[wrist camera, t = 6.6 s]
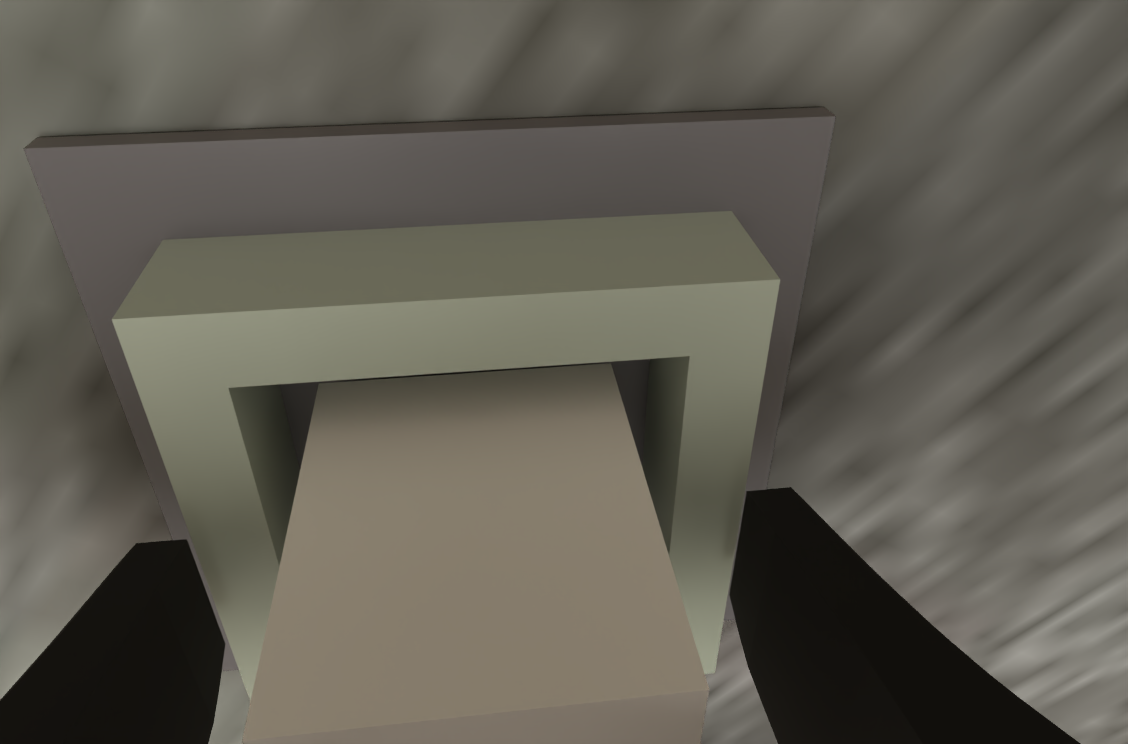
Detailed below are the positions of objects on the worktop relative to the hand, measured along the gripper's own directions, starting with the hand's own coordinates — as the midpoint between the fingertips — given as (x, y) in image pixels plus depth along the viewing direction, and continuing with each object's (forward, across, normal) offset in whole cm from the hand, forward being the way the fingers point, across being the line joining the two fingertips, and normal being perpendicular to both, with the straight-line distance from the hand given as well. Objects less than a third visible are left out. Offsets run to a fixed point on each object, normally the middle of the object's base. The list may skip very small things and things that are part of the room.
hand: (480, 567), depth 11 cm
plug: (+3, 0, 0) cm, 3 cm away
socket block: (+3, 0, 0) cm, 3 cm away
